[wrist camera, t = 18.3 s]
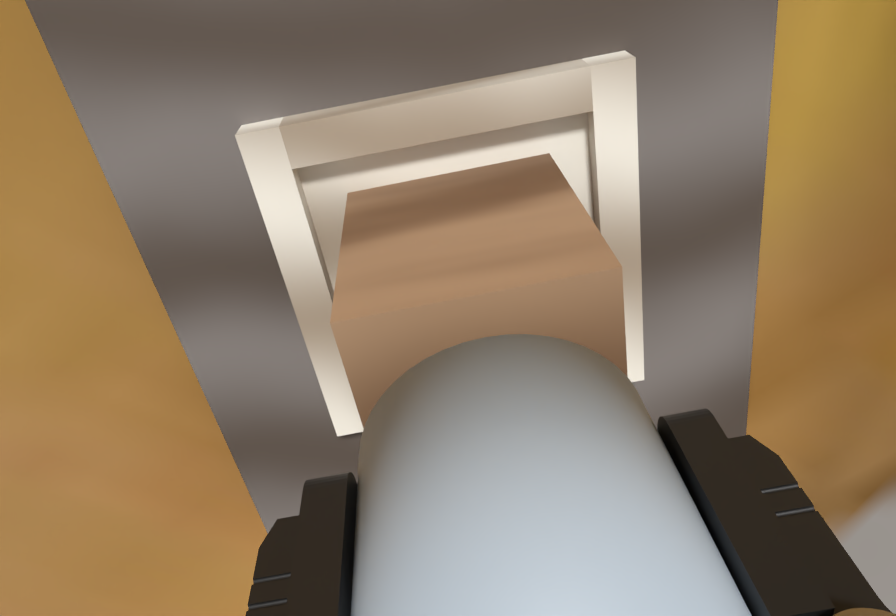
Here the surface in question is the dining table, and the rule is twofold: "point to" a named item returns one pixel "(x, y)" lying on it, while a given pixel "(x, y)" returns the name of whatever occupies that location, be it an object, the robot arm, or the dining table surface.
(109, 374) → the dining table surface
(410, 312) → the walnut block
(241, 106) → the building board
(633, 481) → the pale blue rounded ovoid
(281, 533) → the robot arm
